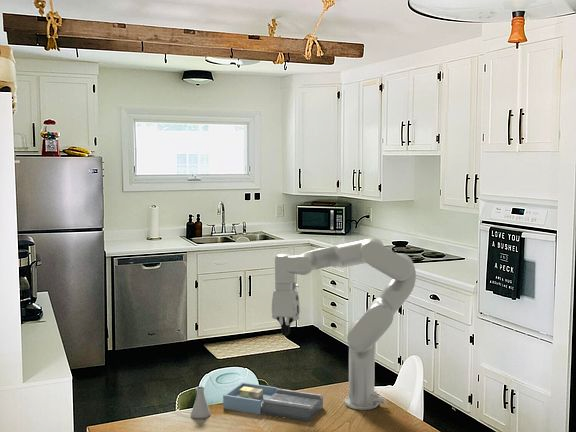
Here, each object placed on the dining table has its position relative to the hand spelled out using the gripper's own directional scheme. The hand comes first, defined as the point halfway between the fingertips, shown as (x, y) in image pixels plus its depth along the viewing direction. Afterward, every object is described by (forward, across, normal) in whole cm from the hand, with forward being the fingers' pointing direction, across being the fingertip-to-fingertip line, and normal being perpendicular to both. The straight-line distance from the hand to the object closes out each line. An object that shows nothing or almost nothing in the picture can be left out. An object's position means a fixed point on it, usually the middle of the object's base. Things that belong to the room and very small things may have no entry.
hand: (285, 334), depth 231 cm
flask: (+25, +22, +26) cm, 42 cm away
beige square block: (+22, +8, +9) cm, 26 cm away
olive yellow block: (+22, +12, +9) cm, 27 cm away
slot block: (+25, -7, +10) cm, 28 cm away
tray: (+25, +10, +10) cm, 29 cm away
